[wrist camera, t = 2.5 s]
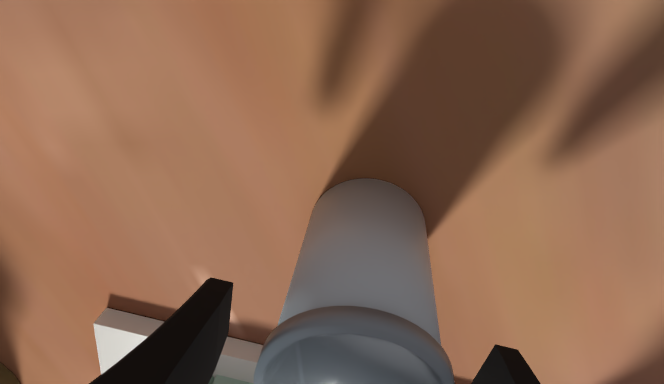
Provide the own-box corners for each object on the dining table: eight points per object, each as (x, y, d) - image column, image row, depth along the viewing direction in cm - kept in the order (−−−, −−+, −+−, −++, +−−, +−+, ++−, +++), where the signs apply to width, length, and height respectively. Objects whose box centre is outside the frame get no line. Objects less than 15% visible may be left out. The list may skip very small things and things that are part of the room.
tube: (449, 190, 15) (490, 358, 9) (409, 288, 17) (420, 471, 11) (317, 159, 15) (265, 304, 9) (296, 261, 17) (244, 429, 11)
